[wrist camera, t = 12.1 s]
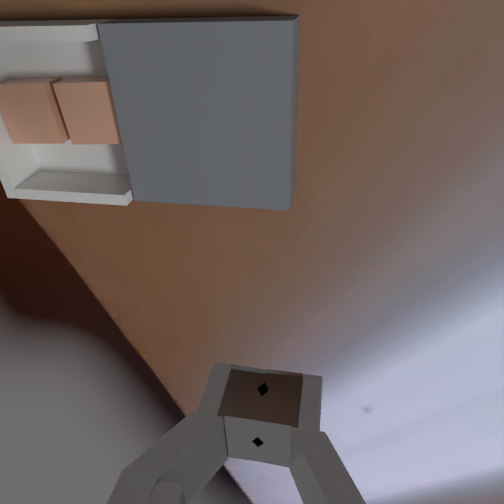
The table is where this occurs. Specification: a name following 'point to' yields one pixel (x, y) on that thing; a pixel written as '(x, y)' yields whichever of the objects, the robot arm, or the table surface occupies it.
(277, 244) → the table surface
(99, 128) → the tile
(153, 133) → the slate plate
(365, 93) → the table surface
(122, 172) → the bin
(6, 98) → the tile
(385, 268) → the table surface
